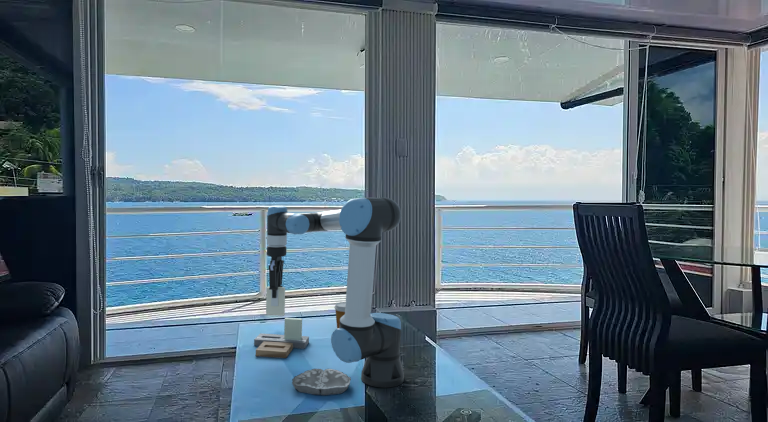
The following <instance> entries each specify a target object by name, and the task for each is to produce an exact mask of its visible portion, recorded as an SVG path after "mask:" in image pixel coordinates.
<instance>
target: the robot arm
mask: <svg viewBox="0 0 768 422" xmlns="http://www.w3.org/2000/svg"><path fill="white" fill-rule="evenodd" d="M401 219H402V210H401V207H400V205H399V204H398V203H397V202H396V201H395V200H393V199H392V198H389V197H358V198H351V199H349V200H348V201H346V202H345V203H344V205H342V207H341V209H335V210H327V211H316V212H315V211H313V212H297V213H293V212H289V211H288V207H287V206H285V205H284V206H283V205H270V206H269V207H268V208H267V215H266V222H267V224H266V233H267V234H266V237H265V239H266V244H267V246H266V255H267V256H268V257H270V261H269V265H268V279H269V280H268V281H269V286H270V287H269V290H271V306H278V299H279V289H278V287H284V286H283V276H284V275H283V274H284V263H285V261H284V259H283V258H282V257H286V256H287V244H288V237H287V236H288V235H287V234H292V235H295V236H296V235H304V234H305V233H312V232H313V233H314V232H328V231H339V230H341V231H342V232H343V233H344V234H345V240H346V241H347V242H348V243H349V246H348V248H349V250H348V264H347V278H346V279H347V280H346V292H345V293H346V294H345V302H346V305H345V315H343V316H342V317H341V318H340V324H339V328H337V327H336V329H334V330H333V331H332V333H331V338H330V342H331V343H330V344H331V348H332V350H333V353H335V356H336V357H337V358H338V360H340V361H342V362H343V363H345V364H350V363H351V364H352V363H357V362H359V361H361V360H364V359H365V361H364V364H363V366H362V369H361V371H360V372H361V374H360V375H361V377H360V379H361V381H362V382H363V384H365V385H367V386H371V387H374V388H375V387H376V388H394V387H398V386H401V384H403V382H404V380H405V372H404V369H403V364H402V361H401V340H402V322H401V318H399V317H398V316H396V315H393V314H390V313H389V314H388V313H384V312H372V305H373V303H372V302H373V291H374V290H373V289H374V277H375V266H376V265H375V263H376V250H377V245H378V244H380V243H381V242H382V236H383V235H382V233H387V232H390V231H392V230H394V229H396V228H397V227H398V226H399V224H400V223H401Z"/></svg>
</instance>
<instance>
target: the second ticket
mask: <svg viewBox="0 0 768 422" xmlns="http://www.w3.org/2000/svg"><path fill="white" fill-rule="evenodd" d="M283 335H284V339H292V340H302V336H303V318H297V317H296V318H295V317H285V318H284V331H283Z"/></svg>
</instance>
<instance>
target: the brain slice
mask: <svg viewBox="0 0 768 422" xmlns="http://www.w3.org/2000/svg"><path fill="white" fill-rule="evenodd" d="M351 380H352V378H351V377H350V376H348V375H347V374H345V373H344V372H342V371H340V370H337V369H334V368H325V369H323V368H313V369H309V370H305V371H303V372H301V373H299V374H297V375H295V376H294V377H293V378H292V380H291V385H292V386H293V388H294V389H295V390H297V391H298V392H299V393H304V394H309V395H315V396H316V395H317V396H319V395H320V396H330V395H339V394H342V393H344V392H345V391H347V389H349V386H350V385H351Z"/></svg>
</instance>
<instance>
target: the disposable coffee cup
mask: <svg viewBox="0 0 768 422" xmlns="http://www.w3.org/2000/svg"><path fill="white" fill-rule="evenodd" d="M345 305H346V301H341V302H337V303H335V305H334V310H335V318H336V319H335V320H336V329H337V328H339V324H340V318H341V317H342V316H343V315H345Z"/></svg>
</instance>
